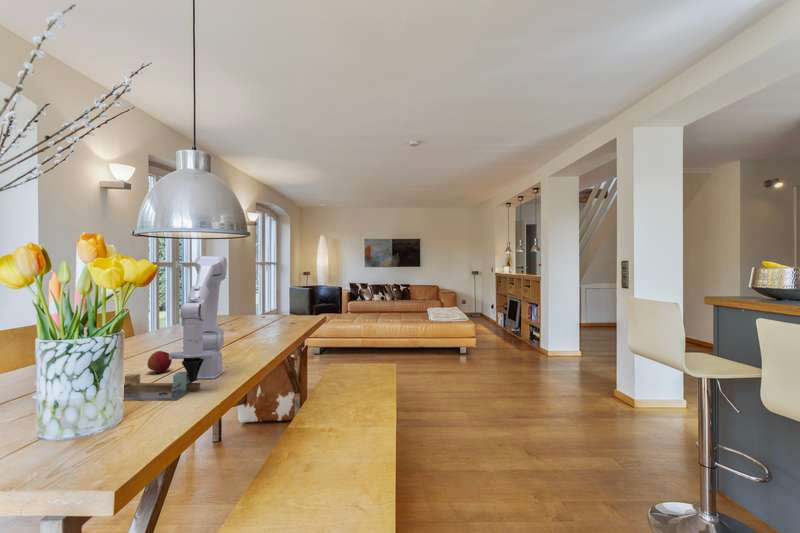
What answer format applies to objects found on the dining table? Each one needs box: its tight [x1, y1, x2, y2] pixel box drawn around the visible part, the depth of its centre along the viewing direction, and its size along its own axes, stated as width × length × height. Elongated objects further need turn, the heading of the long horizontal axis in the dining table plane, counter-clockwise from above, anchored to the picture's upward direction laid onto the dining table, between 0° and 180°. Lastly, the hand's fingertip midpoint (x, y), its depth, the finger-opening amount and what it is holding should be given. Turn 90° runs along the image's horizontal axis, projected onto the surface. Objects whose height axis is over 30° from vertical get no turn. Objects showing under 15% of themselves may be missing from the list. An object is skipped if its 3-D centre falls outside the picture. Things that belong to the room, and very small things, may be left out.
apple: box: [147, 350, 173, 374], centre depth 151 cm, size 8×8×8 cm
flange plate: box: [123, 390, 189, 402], centre depth 125 cm, size 7×22×1 cm, turn 92°
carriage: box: [171, 371, 193, 393], centre depth 129 cm, size 9×4×5 cm, turn 2°
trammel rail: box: [123, 373, 201, 393], centre depth 128 cm, size 8×24×5 cm, turn 92°
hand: (193, 381), depth 131 cm, fingers closed
